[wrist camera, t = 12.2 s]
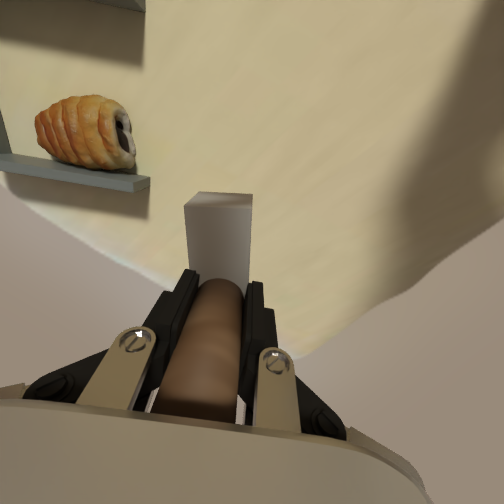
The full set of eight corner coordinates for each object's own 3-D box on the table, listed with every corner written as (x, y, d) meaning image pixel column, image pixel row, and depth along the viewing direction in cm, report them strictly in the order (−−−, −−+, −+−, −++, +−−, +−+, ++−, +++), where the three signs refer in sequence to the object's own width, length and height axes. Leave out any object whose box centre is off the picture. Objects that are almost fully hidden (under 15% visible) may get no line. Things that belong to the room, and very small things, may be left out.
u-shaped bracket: (144, -4, 20) (120, -36, 16) (150, 185, 27) (133, 192, 23) (-55, -47, 19) (-129, -92, 15) (4, 161, 26) (-37, 164, 22)
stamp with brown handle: (252, 194, 13) (247, 289, 5) (246, 328, 17) (238, 494, 9) (198, 191, 13) (101, 283, 5) (206, 326, 17) (163, 492, 9)
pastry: (61, 169, 26) (31, 173, 23) (36, 98, 23) (-2, 91, 20) (142, 167, 26) (125, 171, 22) (127, 96, 23) (105, 88, 20)
